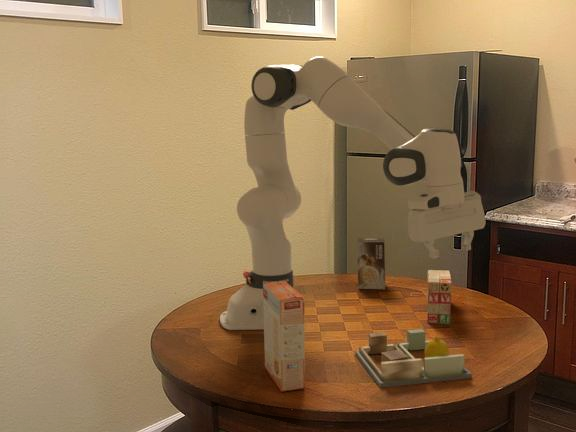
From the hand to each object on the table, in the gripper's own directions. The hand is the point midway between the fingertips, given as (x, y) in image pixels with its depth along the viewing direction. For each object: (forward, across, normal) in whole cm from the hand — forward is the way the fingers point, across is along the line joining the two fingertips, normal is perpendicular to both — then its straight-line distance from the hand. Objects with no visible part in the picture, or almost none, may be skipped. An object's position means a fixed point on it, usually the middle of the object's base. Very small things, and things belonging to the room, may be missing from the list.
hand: (450, 254), depth 150 cm
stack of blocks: (+24, -16, -29) cm, 41 cm away
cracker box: (+22, +43, -9) cm, 49 cm away
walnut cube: (+24, +19, 0) cm, 31 cm away
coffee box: (+21, -12, -60) cm, 64 cm away
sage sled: (+24, +9, -1) cm, 26 cm away
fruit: (+25, +10, +3) cm, 27 cm away
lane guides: (+24, +14, -1) cm, 28 cm away
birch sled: (+23, +18, -4) cm, 30 cm away
